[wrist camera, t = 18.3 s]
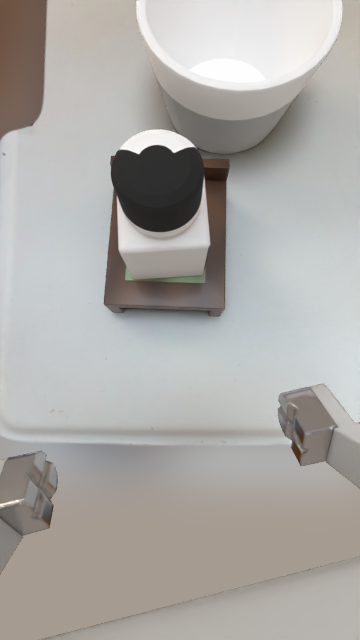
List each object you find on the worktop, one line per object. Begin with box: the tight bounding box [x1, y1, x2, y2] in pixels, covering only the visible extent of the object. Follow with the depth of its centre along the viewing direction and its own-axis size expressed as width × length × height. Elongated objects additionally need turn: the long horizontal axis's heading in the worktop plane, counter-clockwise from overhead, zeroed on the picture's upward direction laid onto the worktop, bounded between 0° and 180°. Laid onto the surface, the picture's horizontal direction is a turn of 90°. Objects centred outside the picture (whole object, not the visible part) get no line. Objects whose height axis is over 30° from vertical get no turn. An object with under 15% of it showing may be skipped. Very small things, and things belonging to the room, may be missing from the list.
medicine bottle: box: [111, 129, 210, 280], centre depth 24 cm, size 7×7×12 cm
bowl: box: [136, 0, 342, 154], centre depth 33 cm, size 19×19×11 cm
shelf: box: [104, 156, 229, 316], centre depth 32 cm, size 12×15×6 cm
